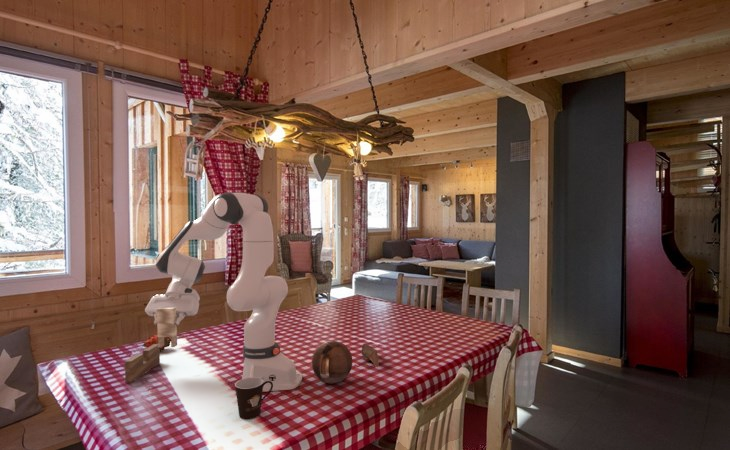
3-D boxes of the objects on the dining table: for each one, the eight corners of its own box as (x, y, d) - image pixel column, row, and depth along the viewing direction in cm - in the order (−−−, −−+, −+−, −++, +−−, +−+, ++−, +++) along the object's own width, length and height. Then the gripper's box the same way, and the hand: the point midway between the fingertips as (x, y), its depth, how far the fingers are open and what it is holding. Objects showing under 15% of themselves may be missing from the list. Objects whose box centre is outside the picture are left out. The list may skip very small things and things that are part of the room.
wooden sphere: (332, 370, 161) (331, 333, 161) (360, 380, 152) (360, 340, 151) (303, 383, 150) (303, 343, 149) (333, 394, 140) (332, 351, 140)
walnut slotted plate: (159, 362, 172) (159, 344, 172) (131, 382, 152) (131, 361, 152) (154, 362, 172) (153, 344, 172) (125, 382, 152) (124, 361, 152)
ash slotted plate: (177, 345, 161) (176, 307, 161) (174, 347, 158) (173, 308, 158) (161, 345, 161) (160, 307, 161) (158, 347, 159) (156, 309, 158)
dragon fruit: (173, 352, 190) (145, 360, 185) (170, 338, 196) (142, 345, 190) (171, 341, 185) (142, 349, 180) (168, 327, 191) (140, 334, 185)
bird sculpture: (371, 374, 158) (371, 361, 157) (355, 353, 182) (355, 342, 181) (387, 372, 159) (387, 359, 159) (369, 351, 183) (369, 340, 183)
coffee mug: (234, 423, 122) (234, 390, 121) (236, 409, 130) (235, 379, 130) (274, 417, 125) (273, 385, 124) (273, 404, 133) (272, 374, 133)
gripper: (149, 290, 166) (136, 320, 157) (198, 289, 166) (188, 319, 156) (155, 299, 171) (143, 328, 161) (203, 298, 171) (194, 327, 161)
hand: (166, 324), depth 159 cm, fingers closed on ash slotted plate, 6 cm apart
